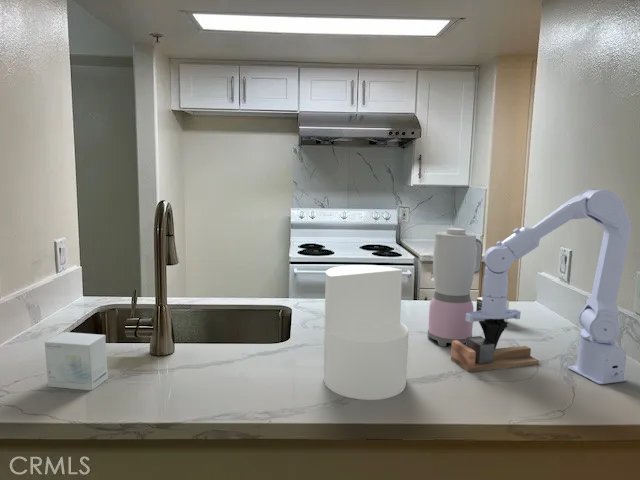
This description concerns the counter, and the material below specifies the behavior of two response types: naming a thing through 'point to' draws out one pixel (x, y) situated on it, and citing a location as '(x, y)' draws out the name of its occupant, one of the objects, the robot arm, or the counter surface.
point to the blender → (453, 285)
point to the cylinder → (364, 332)
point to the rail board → (501, 359)
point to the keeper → (481, 349)
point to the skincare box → (76, 360)
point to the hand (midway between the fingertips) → (490, 347)
